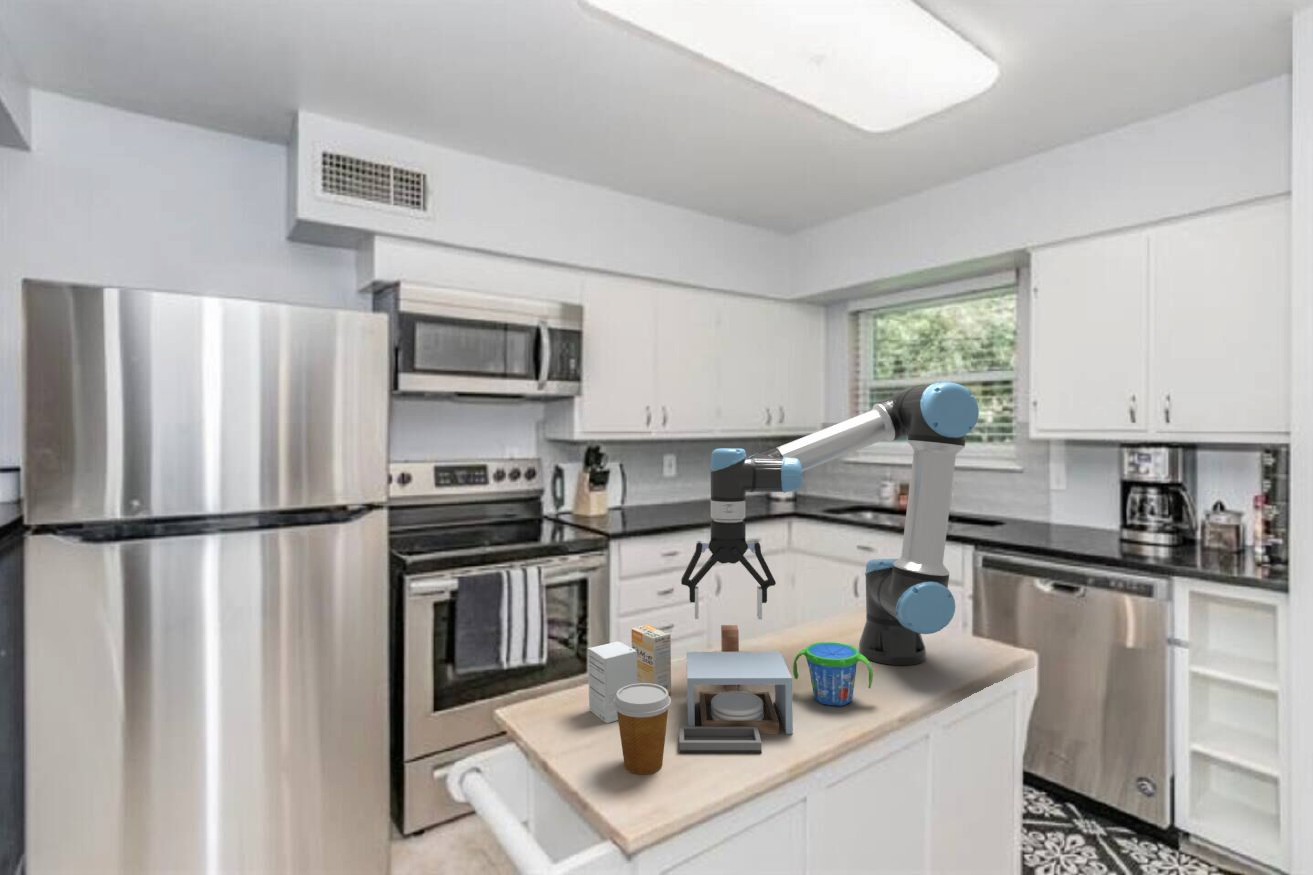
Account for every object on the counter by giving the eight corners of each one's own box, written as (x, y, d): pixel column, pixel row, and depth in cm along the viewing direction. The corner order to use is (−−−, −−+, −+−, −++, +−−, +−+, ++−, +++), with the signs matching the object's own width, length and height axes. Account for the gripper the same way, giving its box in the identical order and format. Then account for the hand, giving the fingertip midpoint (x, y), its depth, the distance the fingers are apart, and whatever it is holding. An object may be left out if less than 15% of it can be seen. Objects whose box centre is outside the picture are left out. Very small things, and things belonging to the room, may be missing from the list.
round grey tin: (736, 735, 121) (735, 716, 121) (700, 716, 129) (700, 698, 129) (774, 719, 127) (774, 701, 127) (737, 702, 135) (737, 685, 135)
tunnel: (781, 701, 135) (780, 651, 134) (792, 733, 121) (792, 677, 120) (687, 701, 135) (686, 651, 135) (688, 733, 121) (687, 678, 121)
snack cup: (787, 702, 134) (786, 651, 134) (802, 683, 144) (802, 636, 143) (866, 717, 127) (866, 664, 127) (877, 697, 136) (877, 647, 136)
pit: (757, 736, 120) (757, 726, 120) (761, 752, 114) (761, 742, 114) (679, 736, 120) (679, 726, 120) (679, 752, 114) (679, 742, 114)
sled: (761, 679, 146) (761, 625, 146) (779, 733, 121) (778, 668, 120) (698, 679, 147) (697, 625, 147) (701, 733, 121) (700, 668, 121)
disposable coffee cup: (645, 745, 117) (644, 677, 117) (684, 764, 110) (682, 692, 110) (602, 764, 111) (601, 693, 111) (641, 786, 104) (639, 710, 104)
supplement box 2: (630, 688, 142) (629, 627, 142) (649, 683, 145) (648, 623, 145) (653, 701, 136) (652, 637, 136) (672, 695, 139) (671, 632, 138)
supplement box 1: (620, 701, 136) (619, 640, 136) (639, 714, 130) (638, 650, 129) (588, 710, 132) (586, 647, 132) (605, 724, 126) (604, 657, 125)
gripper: (670, 522, 141) (670, 621, 141) (788, 522, 140) (788, 622, 140) (670, 517, 148) (670, 611, 149) (783, 517, 148) (783, 612, 148)
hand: (728, 617), depth 145 cm, fingers open, 13 cm apart
